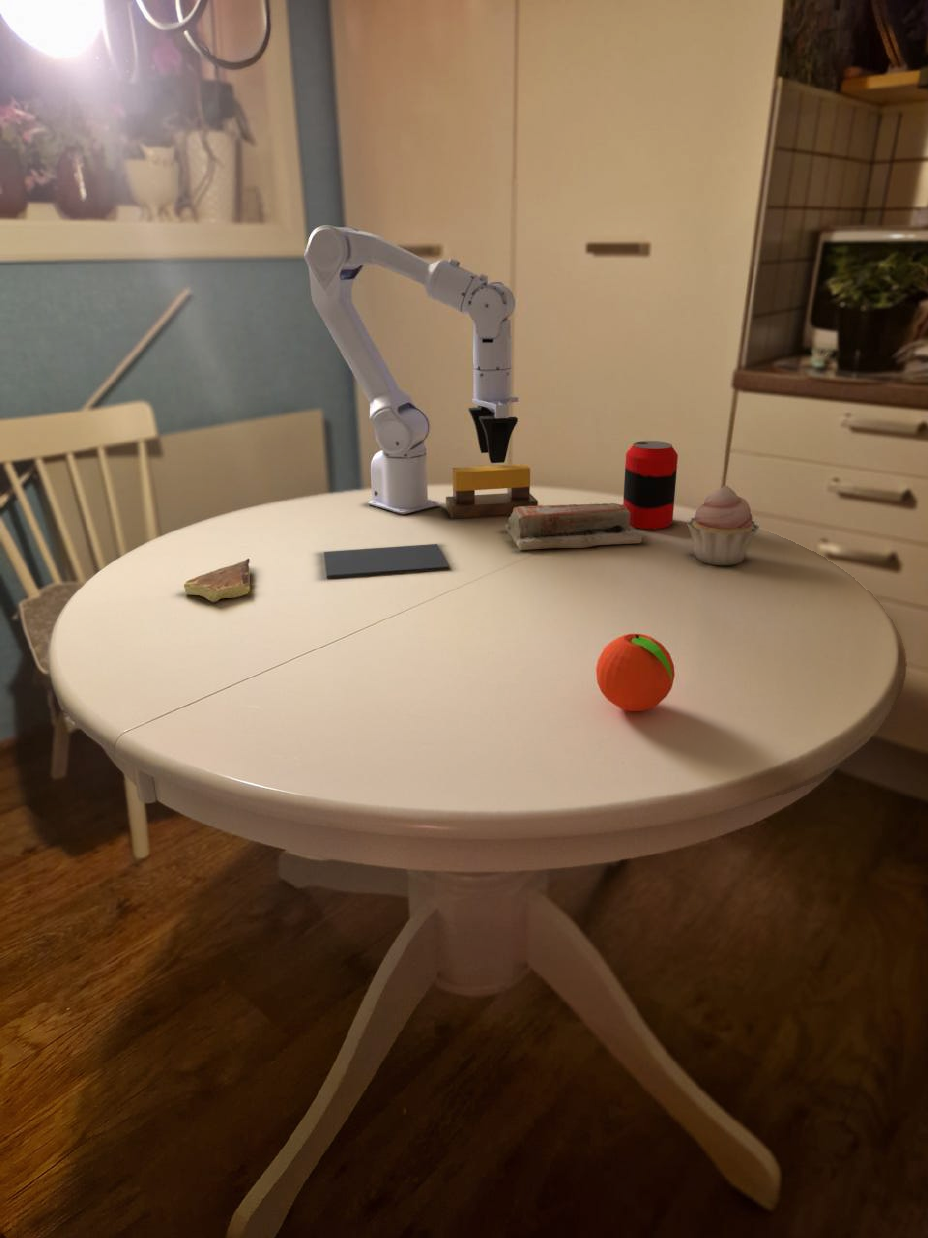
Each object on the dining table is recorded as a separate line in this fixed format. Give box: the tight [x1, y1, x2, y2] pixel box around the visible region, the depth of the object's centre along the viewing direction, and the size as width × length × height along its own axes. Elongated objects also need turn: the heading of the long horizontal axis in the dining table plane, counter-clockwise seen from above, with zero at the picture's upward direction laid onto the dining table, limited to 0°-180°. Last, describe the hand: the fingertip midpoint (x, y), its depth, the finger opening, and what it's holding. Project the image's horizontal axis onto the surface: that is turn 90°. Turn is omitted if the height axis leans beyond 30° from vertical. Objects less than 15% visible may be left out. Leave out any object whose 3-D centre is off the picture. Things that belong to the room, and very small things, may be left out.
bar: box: [451, 463, 531, 491], centre depth 138 cm, size 12×3×3 cm, turn 101°
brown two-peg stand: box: [445, 486, 539, 519], centre depth 140 cm, size 14×6×4 cm, turn 101°
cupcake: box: [686, 485, 760, 566], centre depth 115 cm, size 9×9×10 cm
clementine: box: [595, 633, 675, 712], centre depth 77 cm, size 8×7×7 cm
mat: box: [323, 543, 450, 579], centre depth 117 cm, size 16×10×1 cm, turn 101°
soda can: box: [622, 440, 679, 530], centre depth 130 cm, size 8×8×12 cm
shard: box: [183, 558, 251, 603], centre depth 109 cm, size 11×8×2 cm
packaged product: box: [505, 502, 643, 551], centre depth 125 cm, size 18×5×10 cm
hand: (492, 457), depth 136 cm, fingers open, 7 cm apart
